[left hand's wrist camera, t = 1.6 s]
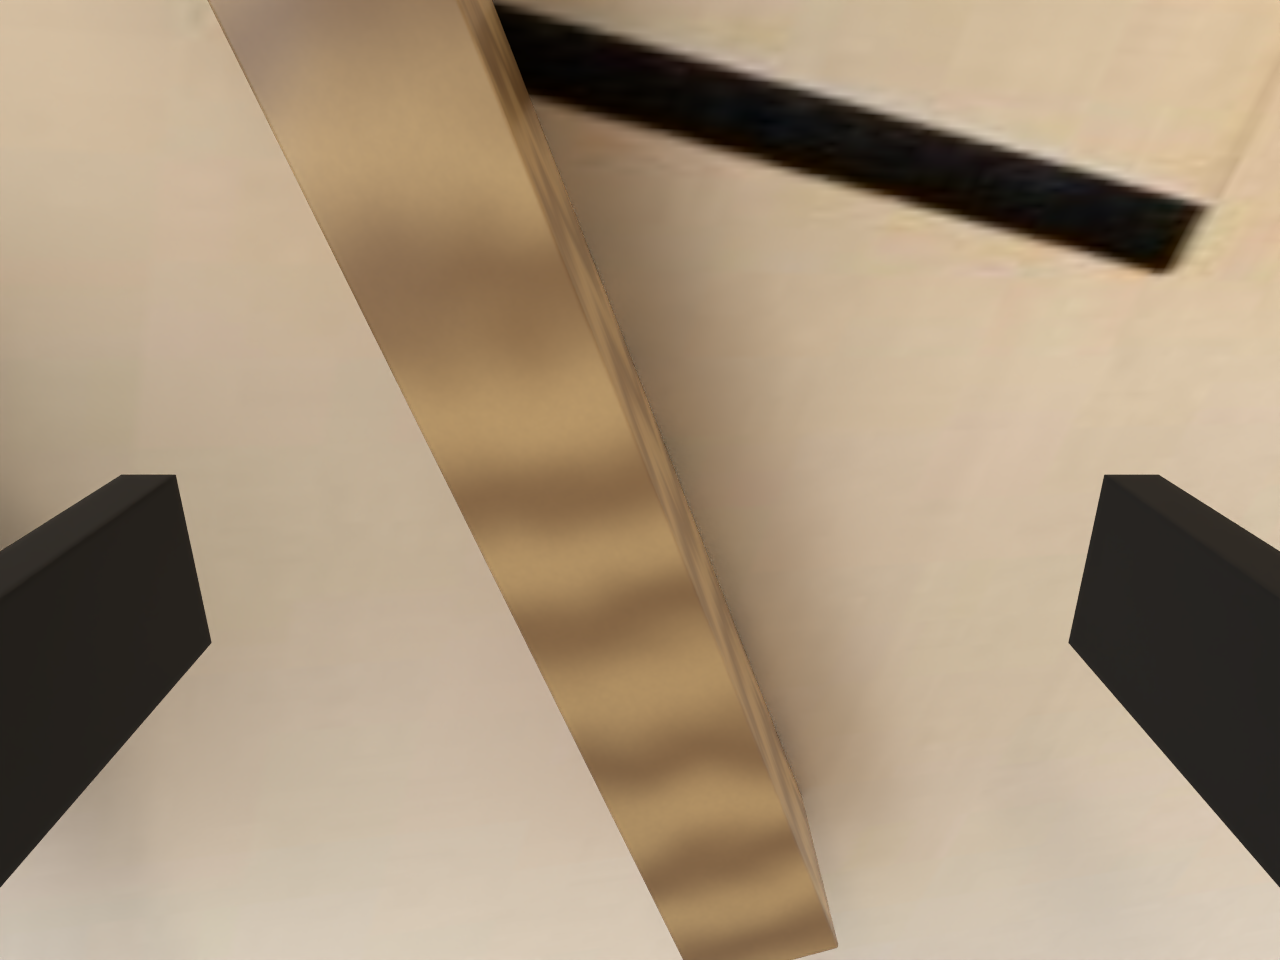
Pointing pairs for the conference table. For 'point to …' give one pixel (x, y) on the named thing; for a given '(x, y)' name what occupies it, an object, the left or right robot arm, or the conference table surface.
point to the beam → (543, 440)
